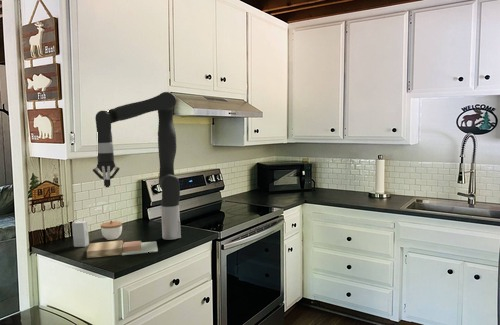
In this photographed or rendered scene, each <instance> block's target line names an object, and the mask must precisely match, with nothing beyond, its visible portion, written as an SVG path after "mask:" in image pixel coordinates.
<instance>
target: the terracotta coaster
mask: <svg viewBox="0 0 500 325" xmlns="http://www.w3.org/2000/svg"><path fill="white" fill-rule="evenodd" d="M141 243H142V240H133V241H125V242H124V241H123V252H126V251H136V250H141Z"/></svg>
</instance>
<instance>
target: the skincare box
mask: <svg viewBox="0 0 500 325" xmlns="http://www.w3.org/2000/svg"><path fill="white" fill-rule="evenodd" d="M71 227H72V228H71V229H72V238H73V247H75V248H82V247H83V248H86V247H89V244H90V238H89V237H90V236H89V227H88V221H87V220H84V221H83V220H82V221H77V220H75V221H74V222H72V223H71Z"/></svg>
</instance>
